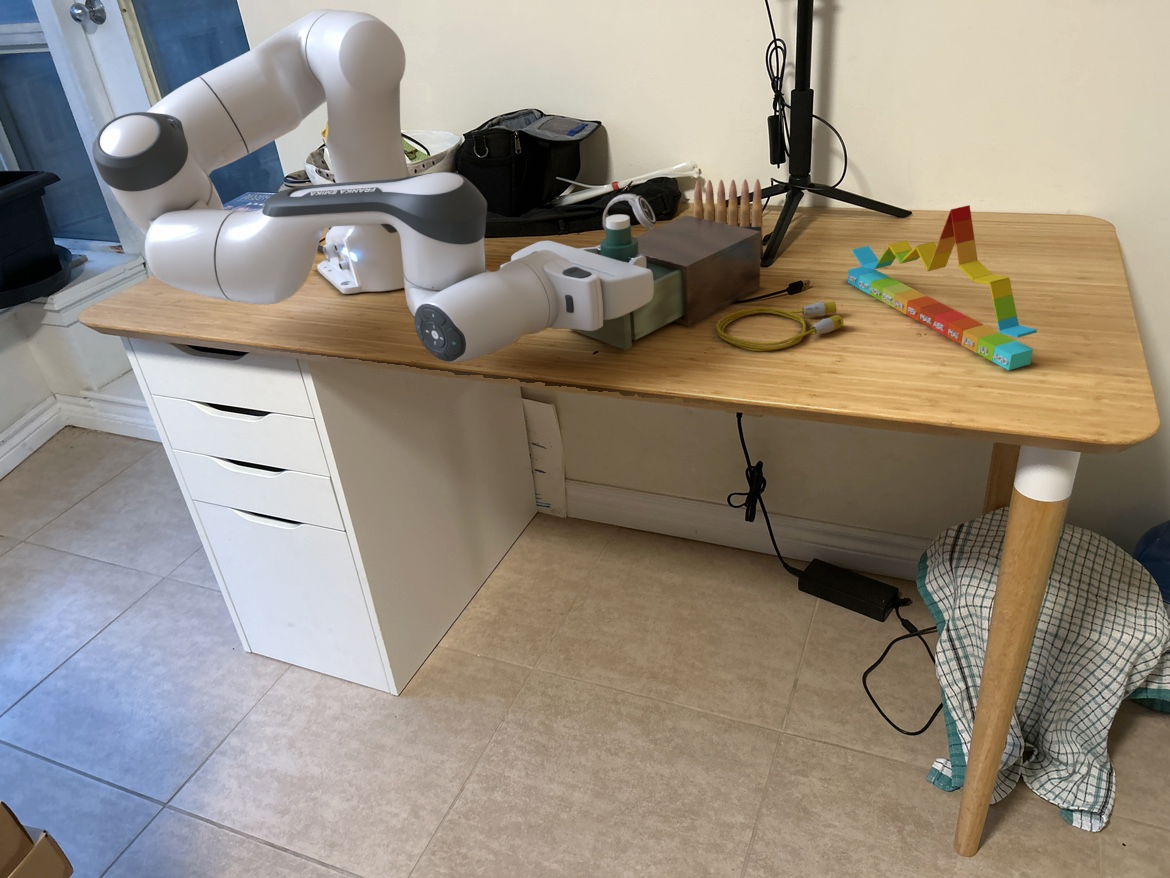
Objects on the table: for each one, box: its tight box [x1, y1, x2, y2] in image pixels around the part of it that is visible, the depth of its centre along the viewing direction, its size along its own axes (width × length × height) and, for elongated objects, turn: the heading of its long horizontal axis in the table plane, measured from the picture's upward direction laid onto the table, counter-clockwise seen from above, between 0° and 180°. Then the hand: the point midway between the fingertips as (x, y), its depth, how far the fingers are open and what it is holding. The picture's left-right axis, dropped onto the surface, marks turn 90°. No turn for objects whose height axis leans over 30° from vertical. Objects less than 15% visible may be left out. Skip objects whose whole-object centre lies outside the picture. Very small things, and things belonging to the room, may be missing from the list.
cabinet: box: [634, 215, 761, 327], centre depth 118 cm, size 15×13×8 cm
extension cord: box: [715, 301, 845, 352], centre depth 108 cm, size 12×16×2 cm
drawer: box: [570, 260, 684, 351], centre depth 111 cm, size 19×12×7 cm, turn 133°
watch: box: [602, 193, 657, 232], centre depth 130 cm, size 6×8×11 cm
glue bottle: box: [599, 214, 639, 263], centre depth 109 cm, size 5×5×13 cm
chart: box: [847, 204, 1038, 371], centre depth 104 cm, size 30×3×15 cm, turn 20°
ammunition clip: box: [692, 178, 764, 260], centre depth 129 cm, size 11×2×12 cm, turn 75°
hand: (625, 255), depth 109 cm, fingers closed on glue bottle, 5 cm apart
